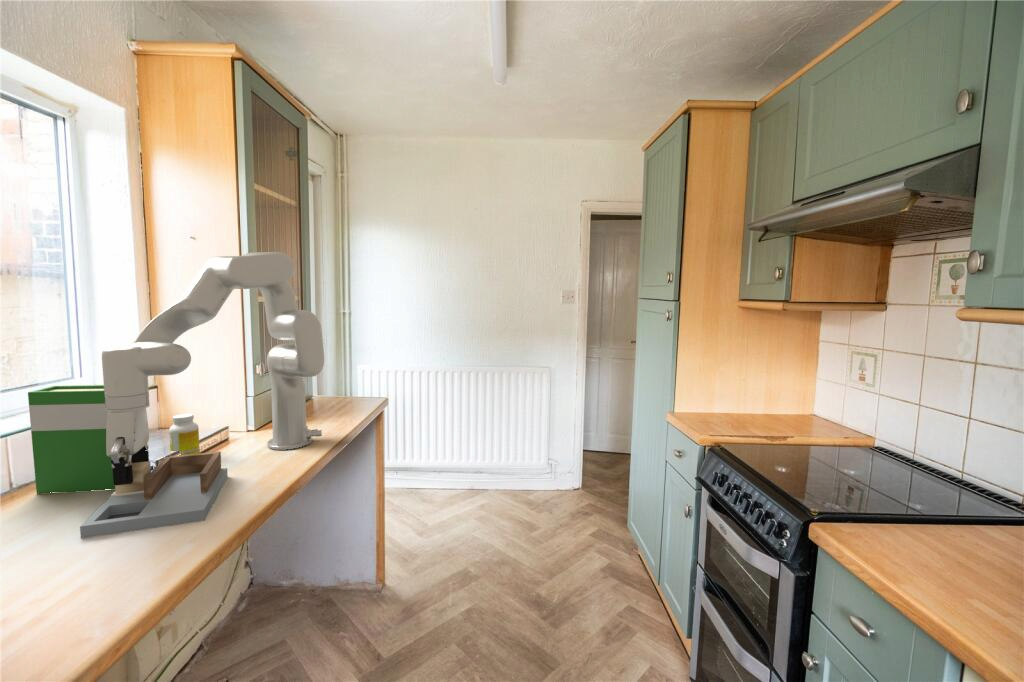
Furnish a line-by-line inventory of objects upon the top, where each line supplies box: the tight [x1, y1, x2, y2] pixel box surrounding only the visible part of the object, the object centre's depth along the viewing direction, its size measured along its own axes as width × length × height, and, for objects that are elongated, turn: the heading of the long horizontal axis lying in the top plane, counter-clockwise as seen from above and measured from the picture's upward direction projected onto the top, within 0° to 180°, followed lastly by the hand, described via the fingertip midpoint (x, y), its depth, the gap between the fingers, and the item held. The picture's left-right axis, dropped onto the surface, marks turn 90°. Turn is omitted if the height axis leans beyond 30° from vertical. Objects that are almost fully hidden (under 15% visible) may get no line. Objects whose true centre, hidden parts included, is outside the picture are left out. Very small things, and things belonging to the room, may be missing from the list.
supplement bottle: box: [168, 413, 201, 455], centre depth 125 cm, size 7×7×13 cm
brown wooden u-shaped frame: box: [143, 451, 222, 500], centre depth 105 cm, size 11×15×4 cm
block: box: [114, 460, 152, 494], centre depth 102 cm, size 5×5×5 cm
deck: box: [79, 467, 228, 539], centre depth 101 cm, size 20×24×3 cm
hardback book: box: [27, 384, 131, 495], centre depth 108 cm, size 18×7×24 cm, turn 101°
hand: (132, 475), depth 102 cm, fingers open, 9 cm apart
